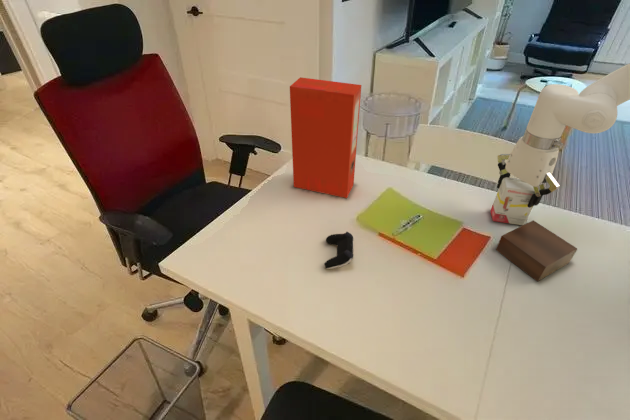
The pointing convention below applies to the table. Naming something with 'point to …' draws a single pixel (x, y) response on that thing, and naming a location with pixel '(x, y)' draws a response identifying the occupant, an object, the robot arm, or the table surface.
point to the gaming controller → (340, 250)
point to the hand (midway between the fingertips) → (516, 195)
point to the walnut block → (535, 250)
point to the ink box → (512, 202)
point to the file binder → (324, 134)
